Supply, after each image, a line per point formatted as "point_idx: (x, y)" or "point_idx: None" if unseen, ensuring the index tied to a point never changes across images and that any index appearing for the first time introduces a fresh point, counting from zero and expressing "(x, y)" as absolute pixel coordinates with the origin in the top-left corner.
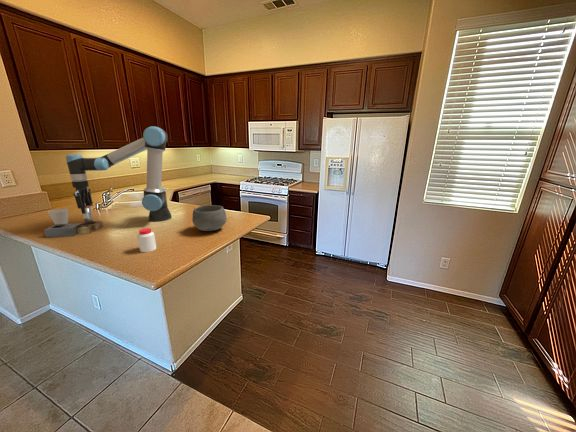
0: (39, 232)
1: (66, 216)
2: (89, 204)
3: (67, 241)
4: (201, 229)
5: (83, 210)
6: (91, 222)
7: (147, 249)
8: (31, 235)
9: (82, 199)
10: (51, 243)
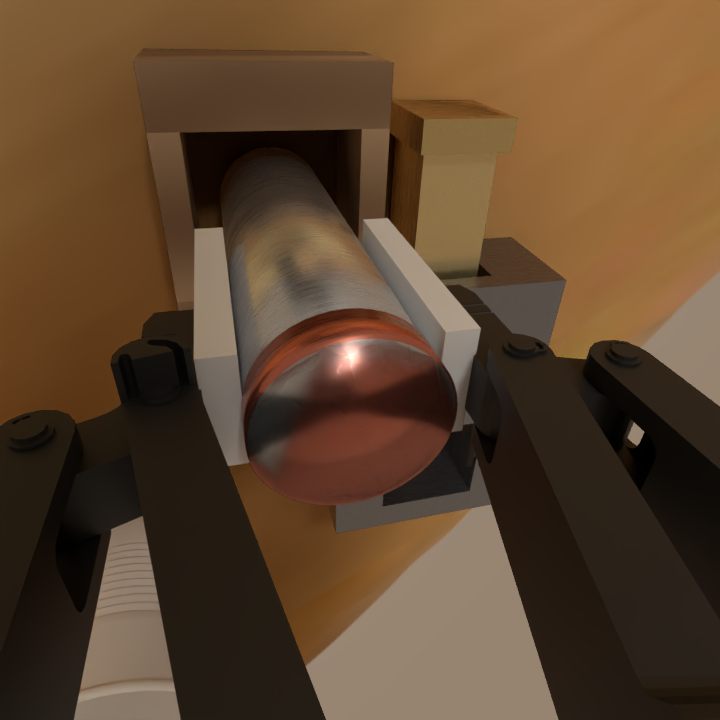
0: (310, 570)
1: (122, 607)
2: (206, 417)
3: (662, 203)
4: None
5: (498, 333)
6: (311, 177)
7: None
8: (377, 563)
9: (685, 601)
10: (647, 311)
